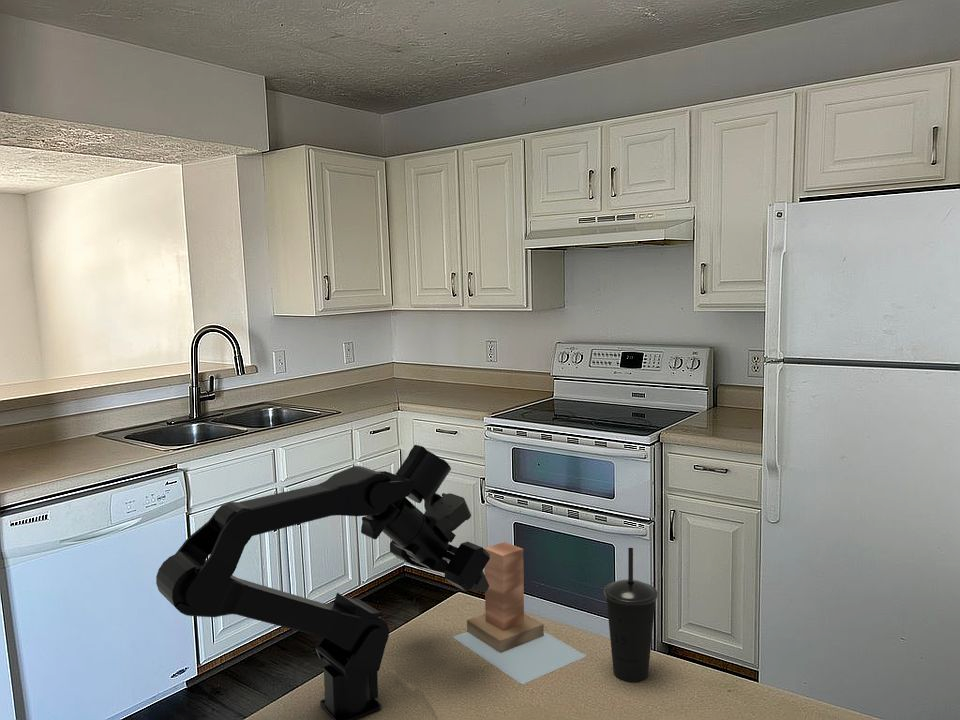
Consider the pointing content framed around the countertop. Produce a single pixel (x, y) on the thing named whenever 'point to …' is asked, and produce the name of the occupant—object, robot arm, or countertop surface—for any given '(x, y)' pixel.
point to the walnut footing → (505, 632)
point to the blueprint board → (525, 656)
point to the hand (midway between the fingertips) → (468, 579)
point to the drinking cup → (630, 625)
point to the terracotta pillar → (504, 586)
